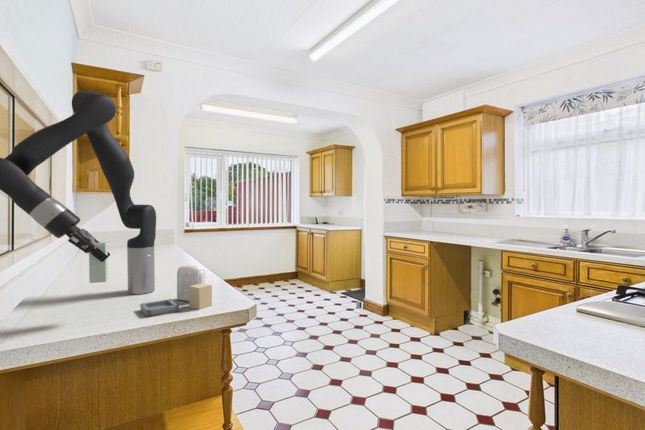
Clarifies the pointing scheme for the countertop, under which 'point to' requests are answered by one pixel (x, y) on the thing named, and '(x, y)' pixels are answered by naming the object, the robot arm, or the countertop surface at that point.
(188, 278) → the photo printer
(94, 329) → the countertop surface
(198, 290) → the kraft box
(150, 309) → the slate tray
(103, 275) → the tea tin
